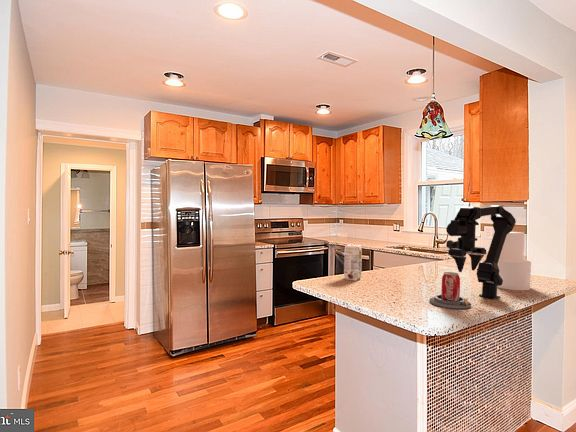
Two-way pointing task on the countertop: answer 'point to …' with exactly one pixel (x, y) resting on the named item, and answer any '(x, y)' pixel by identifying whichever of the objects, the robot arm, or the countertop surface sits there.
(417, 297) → the countertop surface
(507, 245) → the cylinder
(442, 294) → the soda can
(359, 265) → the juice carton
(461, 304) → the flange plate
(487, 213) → the robot arm
